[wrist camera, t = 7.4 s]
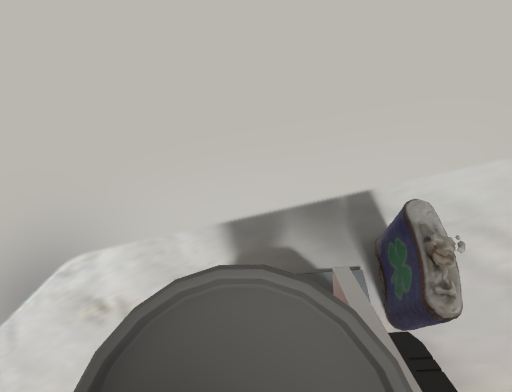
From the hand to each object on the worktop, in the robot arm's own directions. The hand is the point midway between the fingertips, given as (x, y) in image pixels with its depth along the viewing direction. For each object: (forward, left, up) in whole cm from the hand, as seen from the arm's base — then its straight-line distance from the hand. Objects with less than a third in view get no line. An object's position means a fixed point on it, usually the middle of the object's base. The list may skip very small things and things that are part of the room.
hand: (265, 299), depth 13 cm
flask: (-12, -4, -16) cm, 20 cm away
